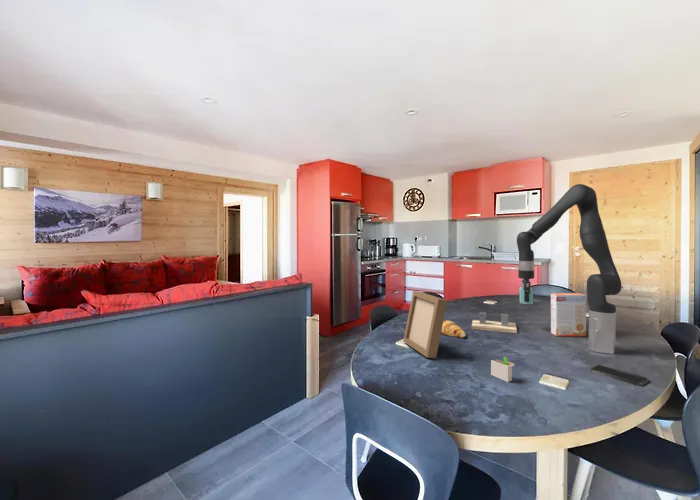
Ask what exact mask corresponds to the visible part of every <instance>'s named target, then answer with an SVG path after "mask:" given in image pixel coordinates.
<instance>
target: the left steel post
mask: <svg viewBox="0 0 700 500" xmlns="http://www.w3.org/2000/svg"><path fill="white" fill-rule="evenodd" d="M479 320H480V324H484V325H486V321H487V312H481V311H480V312H479Z"/></svg>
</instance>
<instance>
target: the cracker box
mask: <svg viewBox="0 0 700 500" xmlns="http://www.w3.org/2000/svg"><path fill="white" fill-rule="evenodd" d="M550 334H552V335H553V336H555V337H586V336H587V294H584V293H582V292H563V293H562V292H557V293H555V292H554V293H553V292H552V293H550Z"/></svg>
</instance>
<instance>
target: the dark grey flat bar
mask: <svg viewBox="0 0 700 500" xmlns="http://www.w3.org/2000/svg"><path fill="white" fill-rule="evenodd" d="M589 371H590V372H592V373H595V374H598V375H601V376H605V377H608V378H610V379H614V380H617V381H621V382H623V383H627V384H630V385H634V386H637V387H643V386H644V385H646V384H648V383H649V382H650V379H649V378H648V377H645V376H641V375H638V374H634V373H631V372H627V371H624V370H620V369H616V368H613V367H609V366H606V365H603V364H598V365H597V364H596V365H595V366H592V367H591V368H590V370H589Z"/></svg>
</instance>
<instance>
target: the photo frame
mask: <svg viewBox="0 0 700 500" xmlns="http://www.w3.org/2000/svg"><path fill="white" fill-rule="evenodd" d="M409 304H410V305H409V311H408V314H407V320H406V325H405V330H404V336H403V342H404V343H405V344H406V345H407V346H410V347H411V348H412V349H413V350H415V351H417V352H418V353H420V354H421V355H422V356H424V357H426V358H428V359H429V358H430V359H437V355H438V352H439V351H438V350H439V345H440V342H441V341H440V340H441V334H442V333H441V331H442V326H443V322H444V321H445V320H444V319H445V316H446V309H447V305H448V300H447V299H444V298H441V297H437V296H434V295H432V294H428V293H425V292H422V291H417V290H412V296H411V301H410V303H409Z"/></svg>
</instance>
